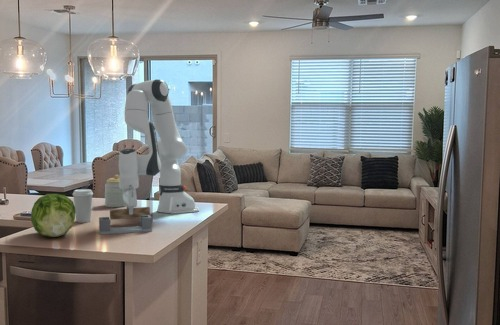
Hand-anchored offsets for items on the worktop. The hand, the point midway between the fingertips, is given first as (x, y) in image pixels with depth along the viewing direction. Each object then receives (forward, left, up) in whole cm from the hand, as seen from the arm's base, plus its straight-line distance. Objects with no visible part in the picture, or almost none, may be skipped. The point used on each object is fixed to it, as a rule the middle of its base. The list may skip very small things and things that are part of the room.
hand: (130, 213), depth 236 cm
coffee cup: (+21, -13, -5) cm, 25 cm away
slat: (0, 0, -2) cm, 2 cm away
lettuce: (+33, +14, -5) cm, 36 cm away
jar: (+2, -54, -5) cm, 55 cm away
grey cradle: (+4, +14, -5) cm, 15 cm away
